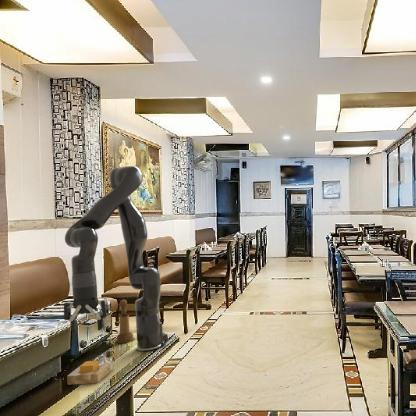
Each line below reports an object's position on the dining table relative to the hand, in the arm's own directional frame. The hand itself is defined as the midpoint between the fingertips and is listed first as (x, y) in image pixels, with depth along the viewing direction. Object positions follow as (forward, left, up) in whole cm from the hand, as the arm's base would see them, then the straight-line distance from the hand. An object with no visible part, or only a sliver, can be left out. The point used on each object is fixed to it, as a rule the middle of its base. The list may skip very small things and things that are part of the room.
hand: (87, 330), depth 149 cm
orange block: (0, +1, -16) cm, 16 cm away
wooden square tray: (0, +1, -16) cm, 16 cm away
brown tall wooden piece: (-26, -29, -17) cm, 42 cm away
